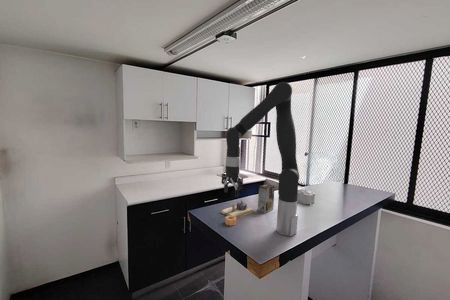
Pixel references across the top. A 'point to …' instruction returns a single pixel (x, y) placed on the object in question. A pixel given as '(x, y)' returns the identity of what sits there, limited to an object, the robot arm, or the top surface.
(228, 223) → the gear
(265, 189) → the coffee box
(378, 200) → the top surface
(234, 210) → the gear board
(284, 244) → the top surface
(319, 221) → the top surface
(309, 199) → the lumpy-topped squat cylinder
